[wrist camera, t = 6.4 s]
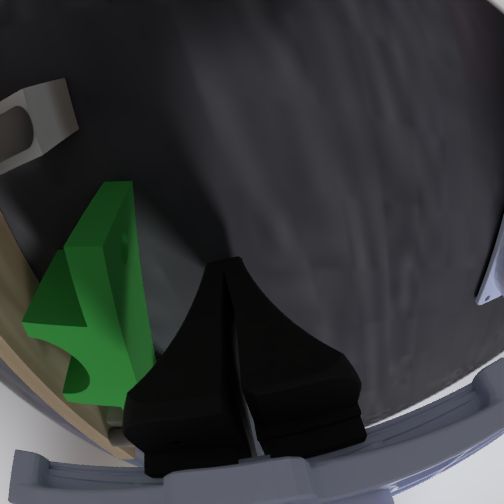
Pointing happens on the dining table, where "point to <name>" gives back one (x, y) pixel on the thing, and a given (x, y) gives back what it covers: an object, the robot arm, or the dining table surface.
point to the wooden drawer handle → (24, 280)
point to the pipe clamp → (97, 302)
